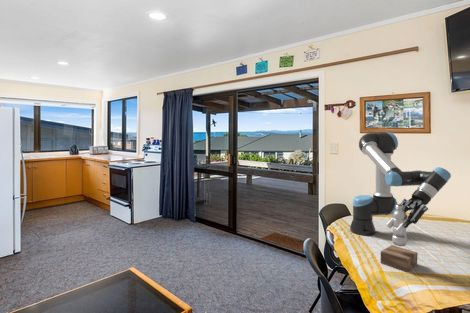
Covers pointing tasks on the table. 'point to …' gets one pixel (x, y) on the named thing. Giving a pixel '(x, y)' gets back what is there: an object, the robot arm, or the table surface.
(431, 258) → the table surface
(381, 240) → the table surface
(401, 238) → the plastic bottle
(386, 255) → the walnut block
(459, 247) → the table surface
